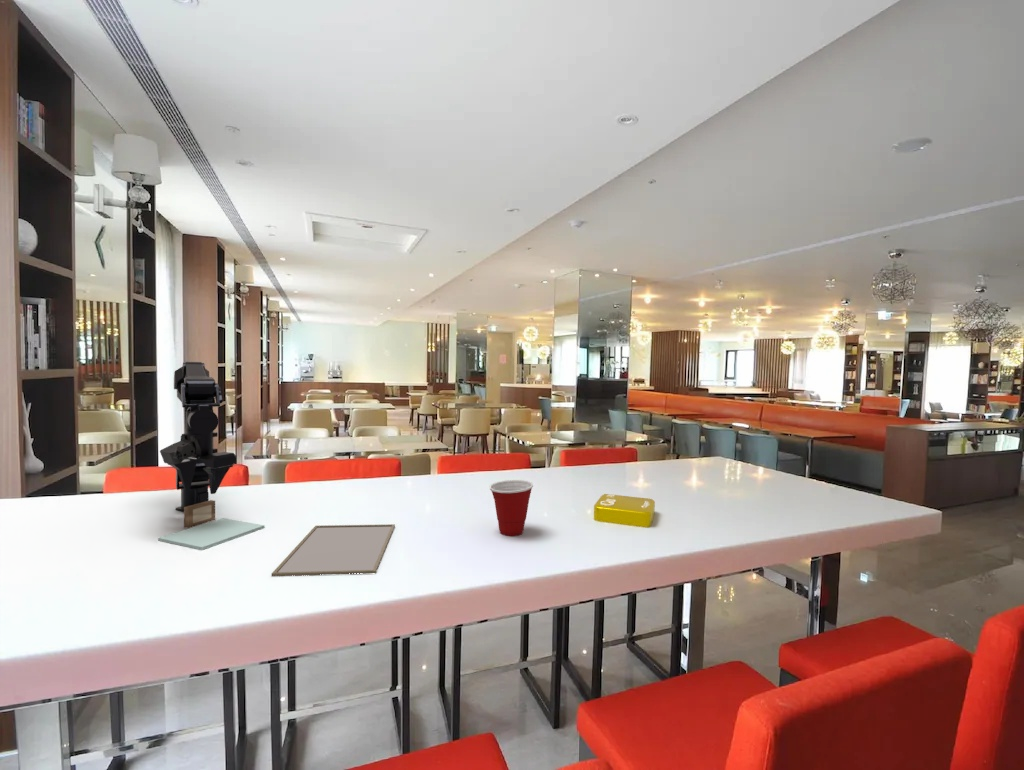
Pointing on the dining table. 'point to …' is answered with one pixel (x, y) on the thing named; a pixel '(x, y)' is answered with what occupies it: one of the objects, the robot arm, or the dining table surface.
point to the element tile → (624, 510)
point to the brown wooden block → (199, 513)
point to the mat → (211, 533)
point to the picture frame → (338, 550)
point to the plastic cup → (511, 505)
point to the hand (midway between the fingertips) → (199, 491)
